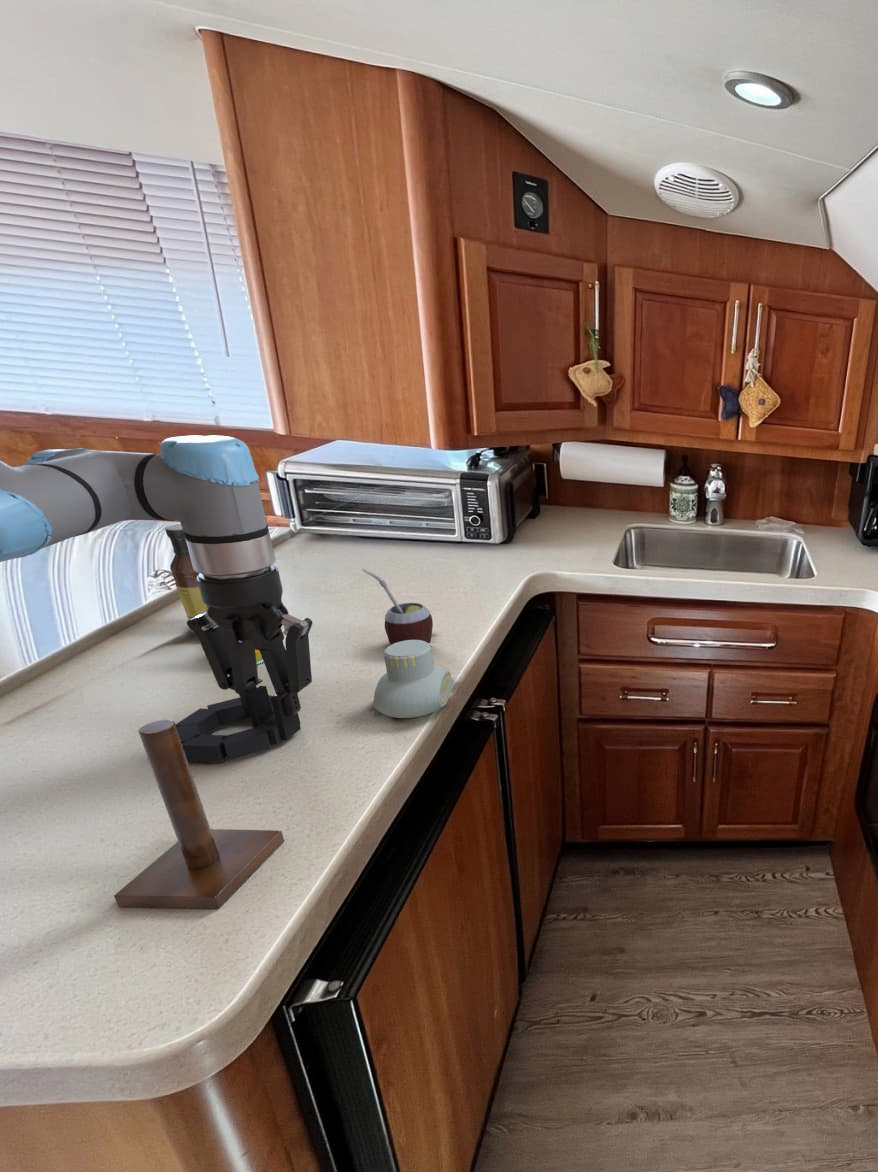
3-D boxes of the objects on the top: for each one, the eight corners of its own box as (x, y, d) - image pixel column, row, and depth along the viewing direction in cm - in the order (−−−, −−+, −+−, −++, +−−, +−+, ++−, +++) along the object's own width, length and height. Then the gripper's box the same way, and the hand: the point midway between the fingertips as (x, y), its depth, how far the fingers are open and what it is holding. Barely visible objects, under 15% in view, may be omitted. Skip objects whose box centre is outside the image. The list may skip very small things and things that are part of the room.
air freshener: (438, 725, 91) (429, 664, 87) (373, 730, 89) (360, 667, 85) (456, 687, 101) (448, 630, 97) (397, 690, 98) (387, 632, 95)
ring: (150, 759, 78) (144, 743, 78) (227, 707, 90) (223, 693, 89) (254, 764, 79) (250, 748, 79) (318, 711, 91) (315, 697, 90)
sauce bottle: (242, 625, 114) (213, 518, 106) (243, 638, 110) (213, 528, 102) (192, 633, 110) (159, 522, 102) (191, 647, 105) (156, 532, 98)
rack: (118, 907, 60) (52, 754, 54) (196, 839, 68) (148, 699, 62) (219, 909, 61) (166, 757, 54) (284, 841, 69) (245, 702, 63)
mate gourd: (443, 651, 111) (431, 570, 106) (393, 665, 105) (378, 581, 100) (425, 637, 115) (413, 559, 110) (376, 650, 110) (361, 568, 104)
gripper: (324, 563, 80) (355, 721, 89) (194, 554, 79) (238, 715, 88) (283, 583, 73) (321, 753, 82) (139, 574, 72) (193, 747, 81)
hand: (278, 733), depth 85 cm, fingers closed on ring, 2 cm apart
